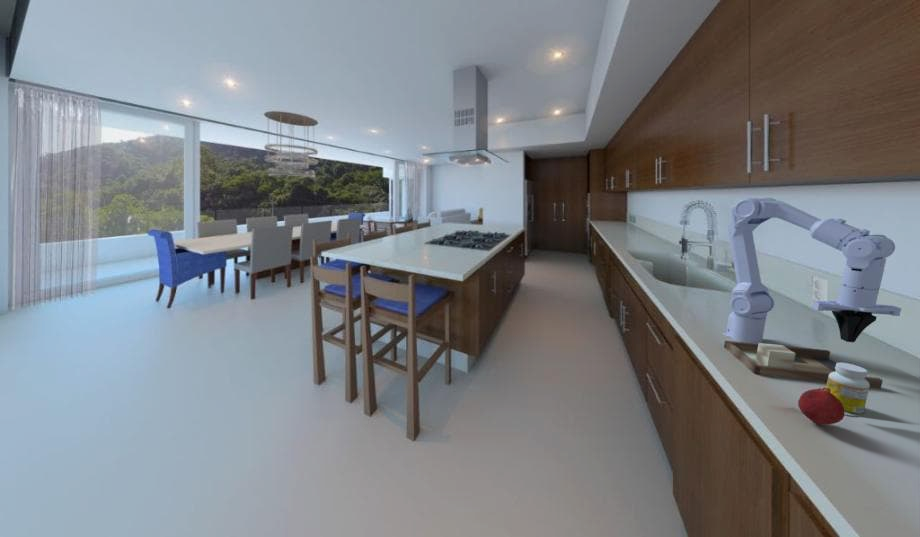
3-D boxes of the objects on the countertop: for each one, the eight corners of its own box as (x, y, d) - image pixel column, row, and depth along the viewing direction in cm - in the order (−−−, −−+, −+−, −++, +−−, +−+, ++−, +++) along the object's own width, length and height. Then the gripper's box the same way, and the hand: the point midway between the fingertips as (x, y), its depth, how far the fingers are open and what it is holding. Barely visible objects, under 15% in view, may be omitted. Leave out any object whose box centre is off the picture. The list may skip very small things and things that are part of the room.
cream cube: (755, 360, 85) (758, 343, 84) (779, 363, 83) (782, 345, 83) (766, 369, 80) (770, 351, 79) (791, 372, 79) (795, 353, 78)
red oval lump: (803, 428, 60) (811, 390, 59) (790, 411, 65) (797, 375, 64) (847, 438, 58) (856, 398, 56) (830, 419, 63) (838, 382, 61)
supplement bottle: (865, 422, 62) (877, 376, 60) (824, 411, 65) (834, 368, 64) (858, 408, 66) (868, 366, 64) (820, 399, 69) (828, 358, 68)
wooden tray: (723, 350, 94) (725, 340, 93) (825, 360, 86) (827, 350, 86) (753, 377, 79) (755, 366, 78) (879, 392, 72) (882, 380, 71)
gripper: (832, 288, 73) (821, 343, 76) (920, 292, 69) (904, 351, 72) (810, 281, 80) (800, 332, 83) (889, 285, 76) (876, 339, 78)
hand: (847, 340), depth 78 cm, fingers closed
